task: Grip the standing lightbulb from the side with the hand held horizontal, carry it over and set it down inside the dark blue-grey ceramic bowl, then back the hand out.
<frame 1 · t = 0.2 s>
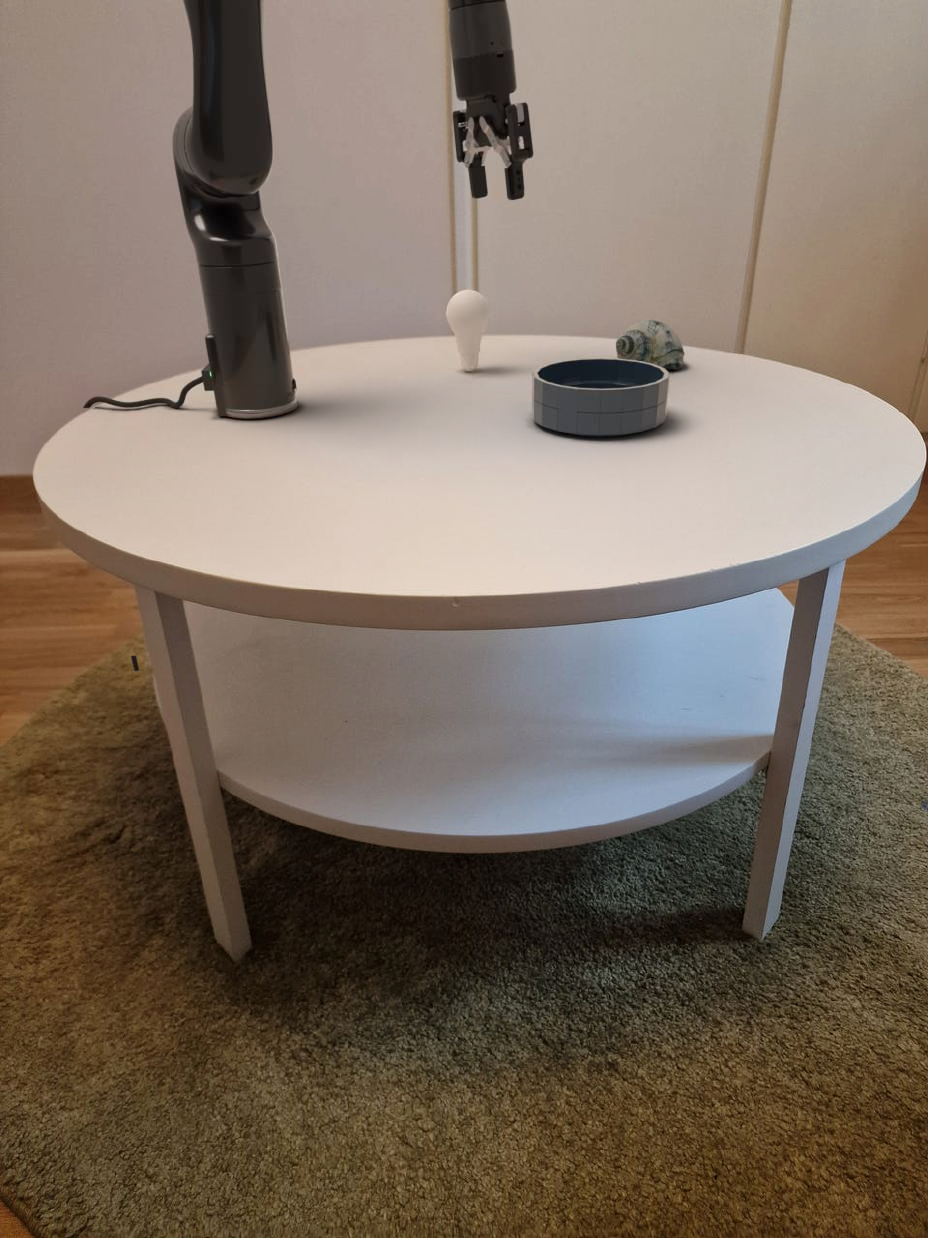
hand: (497, 198, 112), 22 cm above the table, tool pointing down, fingers open, 8 cm apart
seashell: (645, 369, 121), on the table
lightbulb: (469, 372, 122), on the table
bowl: (597, 420, 99), on the table
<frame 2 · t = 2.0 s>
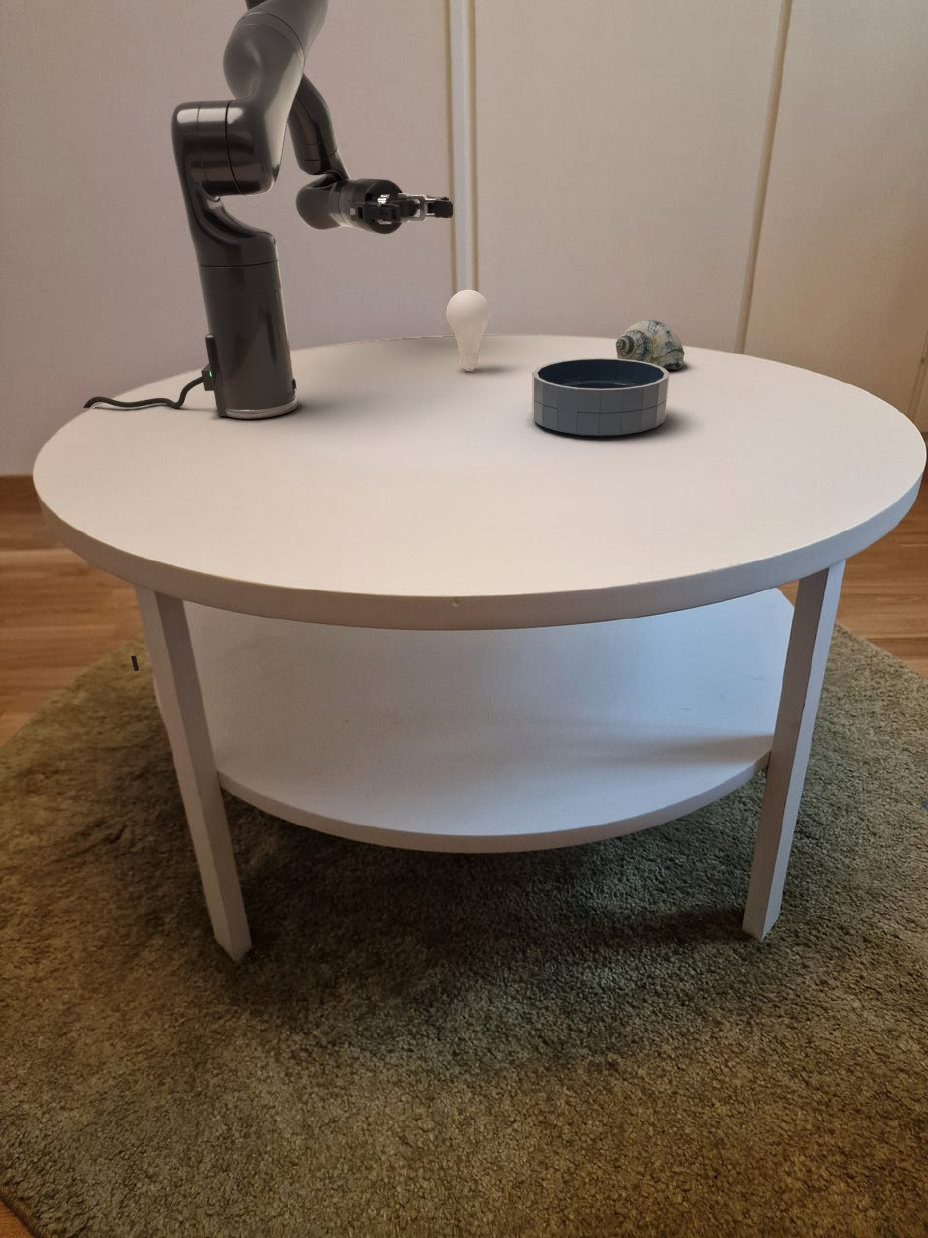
hand: (424, 211, 120), 20 cm above the table, tool horizontal, fingers open, 8 cm apart
nothing on the table moved.
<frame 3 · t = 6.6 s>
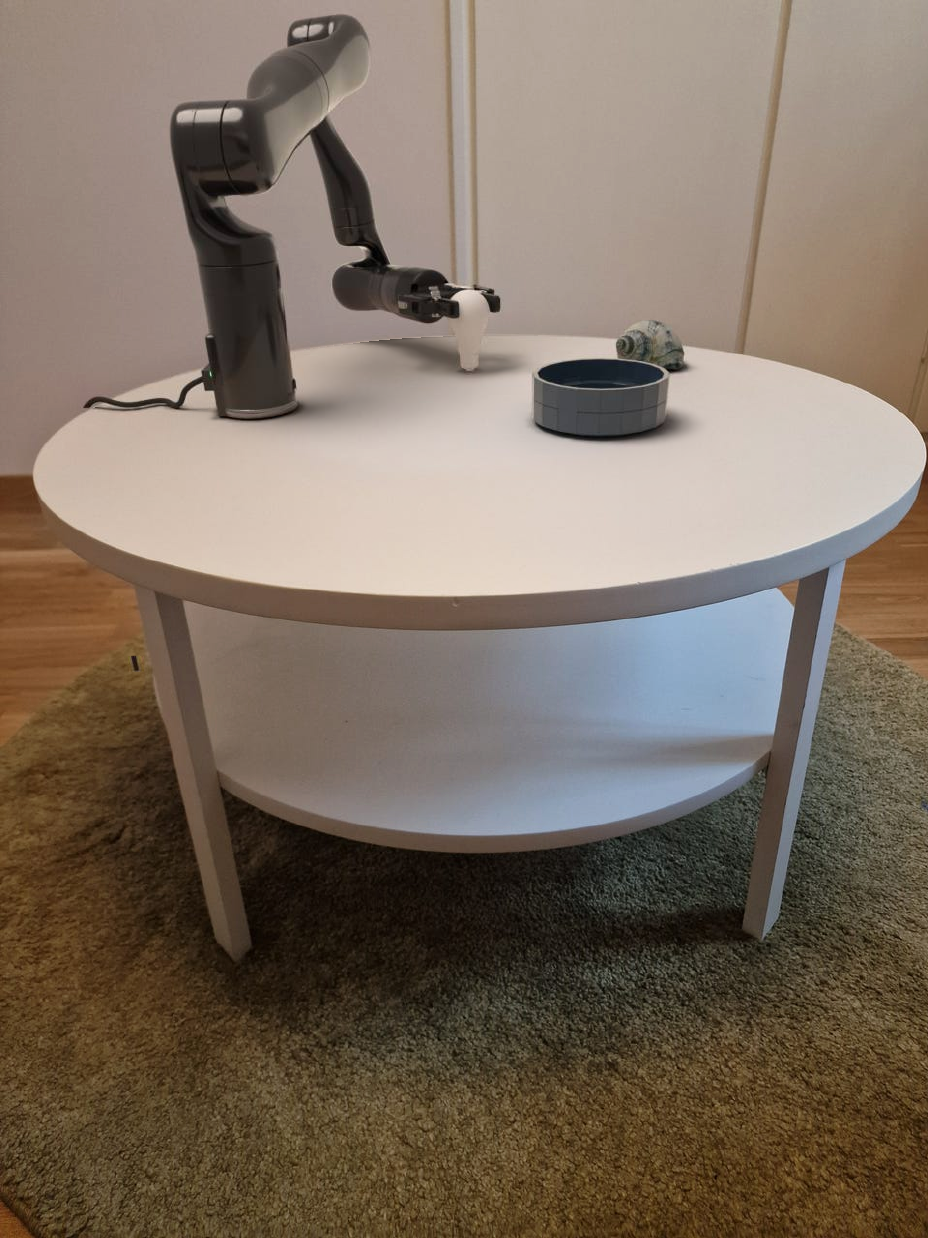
hand: (477, 307, 116), 9 cm above the table, tool horizontal, fingers closed on lightbulb, 6 cm apart
lightbulb: (469, 372, 122), on the table, touching gripper
everything else where it was.
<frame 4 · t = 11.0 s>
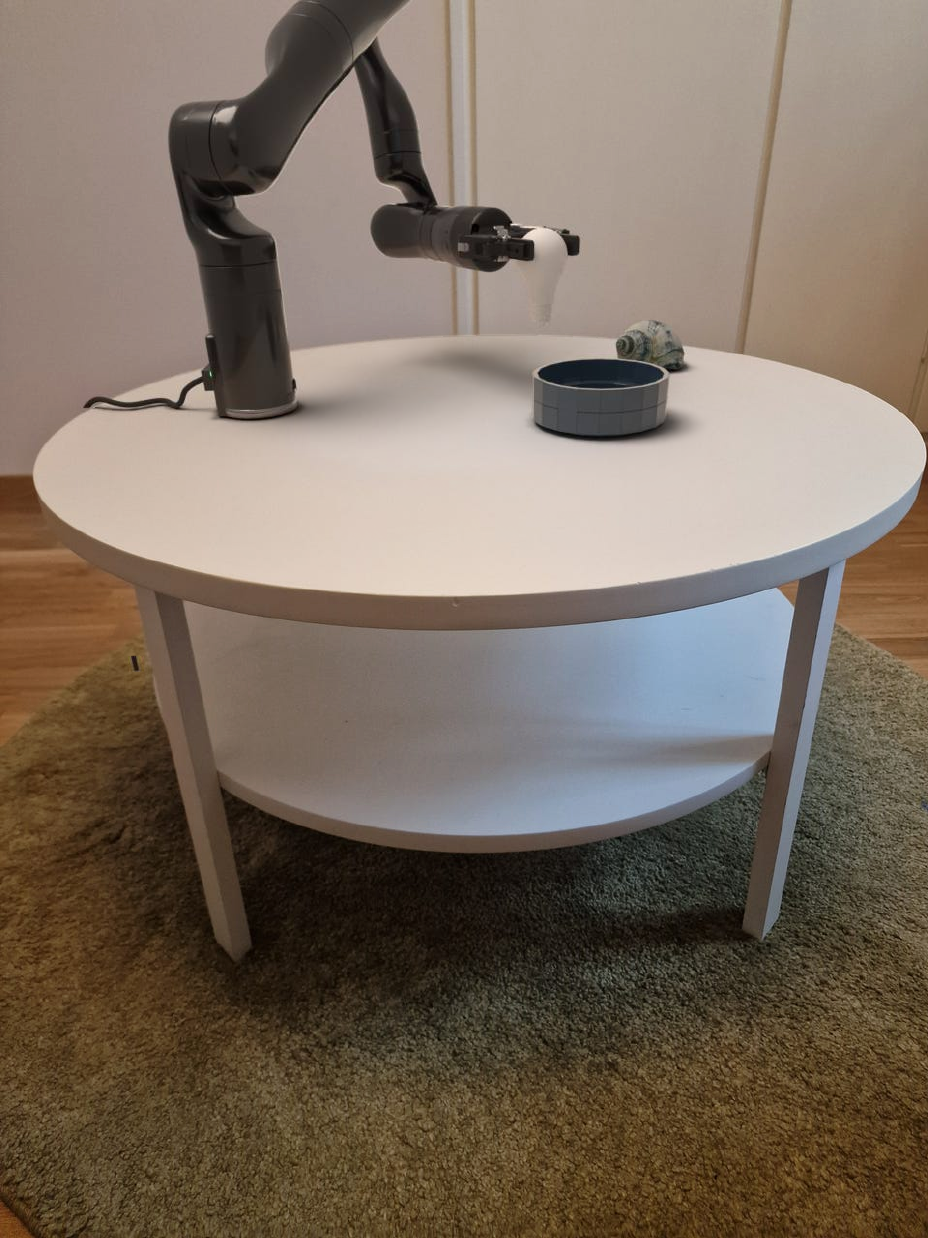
hand: (554, 248, 98), 18 cm above the table, tool horizontal, fingers closed on lightbulb, 6 cm apart
lightbulb: (540, 327, 104), point 9 cm above the table, touching gripper
everything else where it was.
when the fingers open (10 cm above the table, at t = 15.4 s): lightbulb stays where it is, resting on bowl.
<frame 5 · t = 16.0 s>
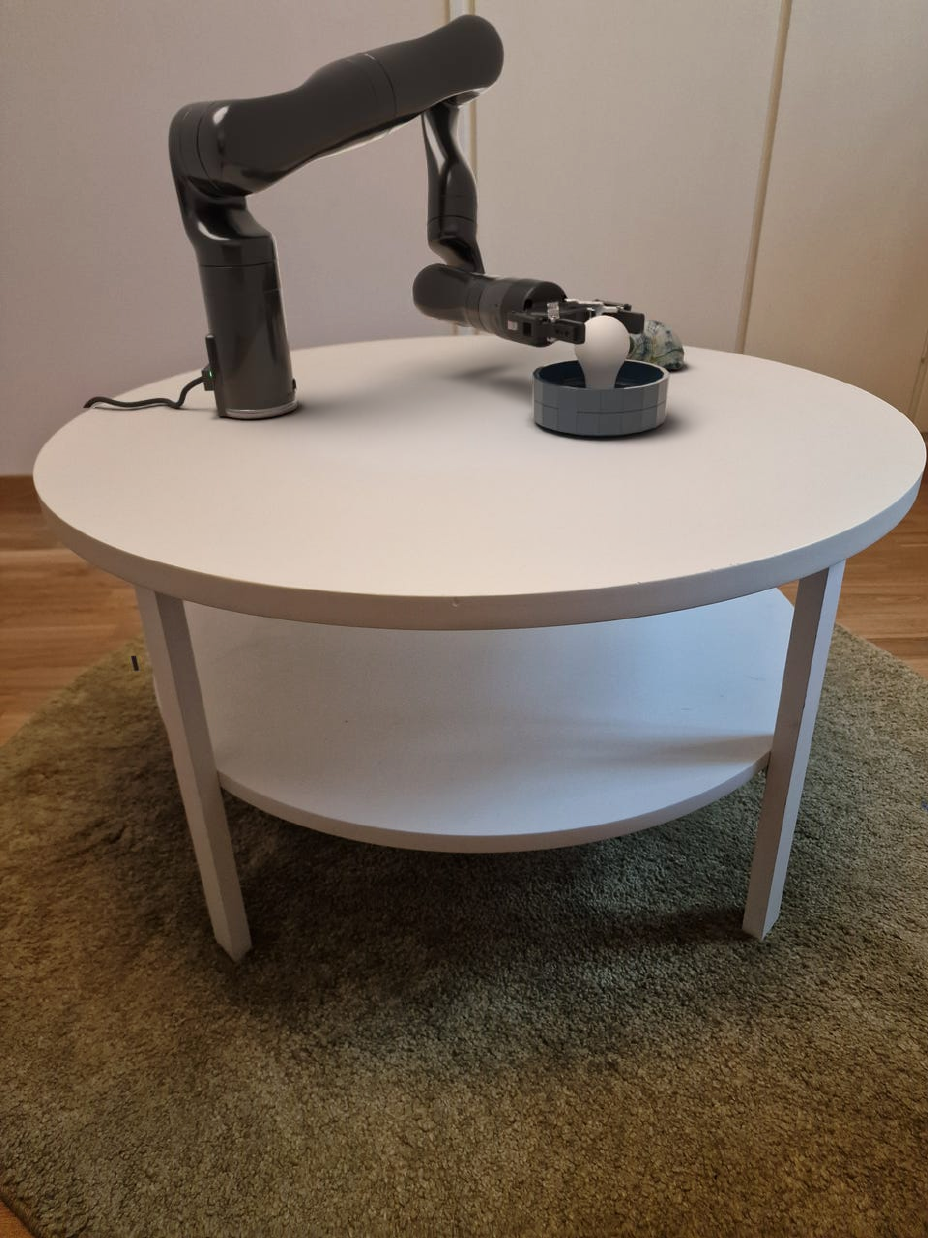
hand: (613, 329, 92), 10 cm above the table, tool horizontal, fingers open, 8 cm apart
lightbulb: (598, 416, 99), resting on bowl
everything else where it was.
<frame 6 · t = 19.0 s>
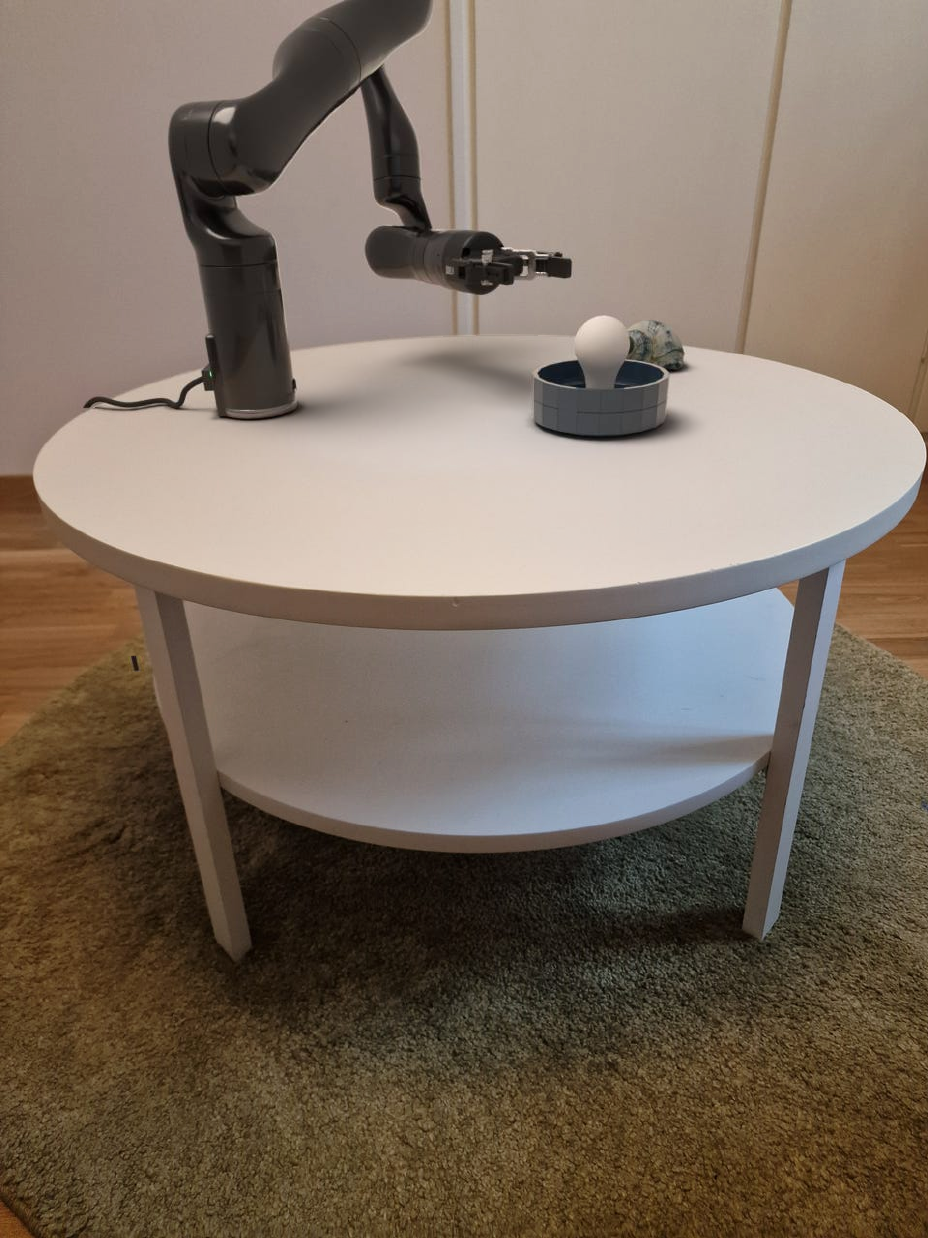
hand: (541, 271, 99), 15 cm above the table, tool horizontal, fingers open, 8 cm apart
nothing on the table moved.
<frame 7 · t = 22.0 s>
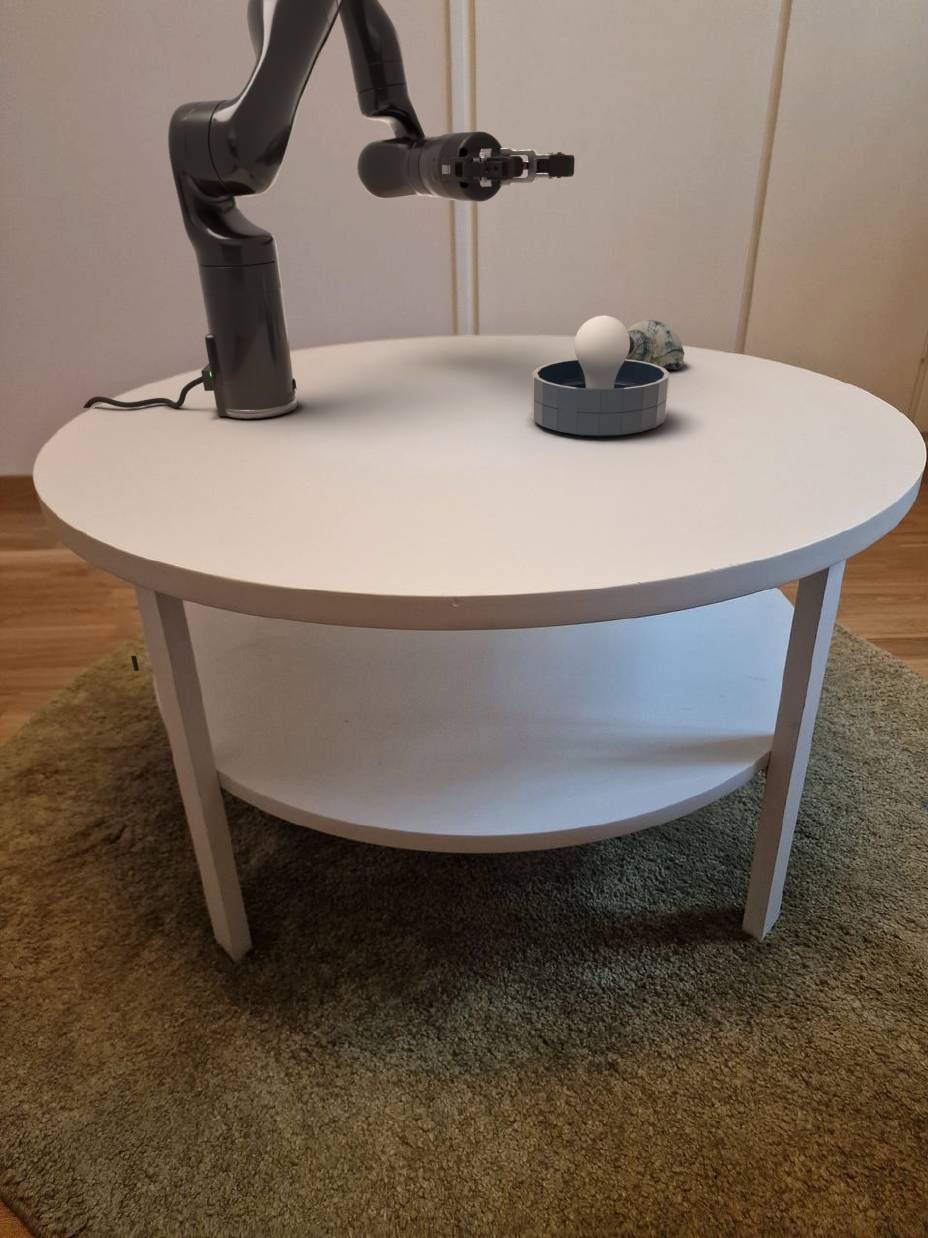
hand: (542, 167, 94), 26 cm above the table, tool horizontal, fingers open, 8 cm apart
nothing on the table moved.
at the end: lightbulb inside the target area in the bowl (0.2 cm from its centre), point 0.4 cm above the bowl's base; the gripper is holding nothing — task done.
